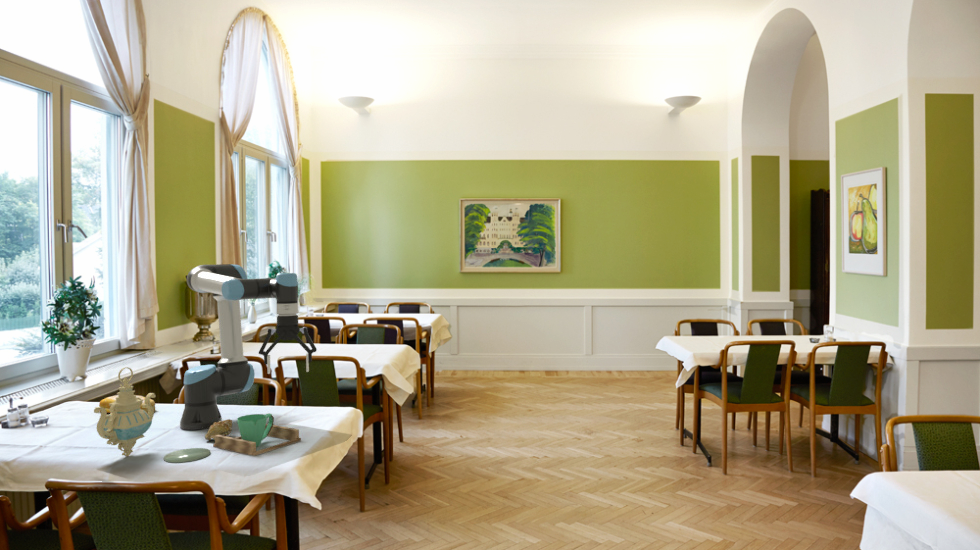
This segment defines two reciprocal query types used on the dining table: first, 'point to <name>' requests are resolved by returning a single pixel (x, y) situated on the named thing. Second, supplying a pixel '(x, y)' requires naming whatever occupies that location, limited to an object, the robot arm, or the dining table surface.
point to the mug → (255, 427)
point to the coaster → (187, 455)
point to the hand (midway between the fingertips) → (288, 372)
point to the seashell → (219, 429)
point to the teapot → (125, 418)
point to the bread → (108, 400)
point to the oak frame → (250, 447)
